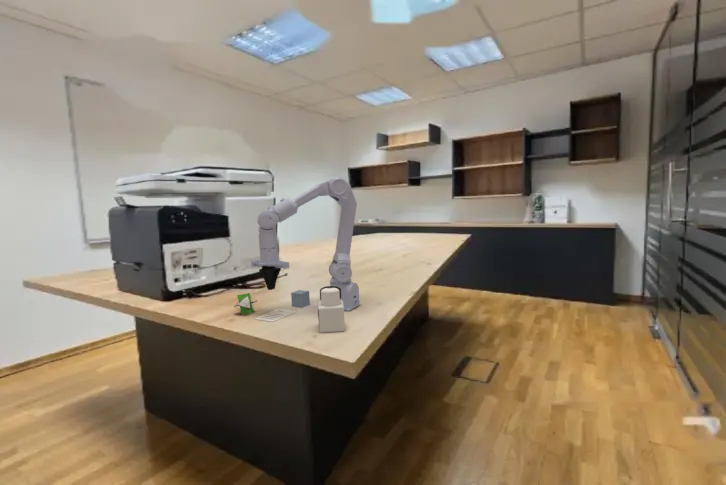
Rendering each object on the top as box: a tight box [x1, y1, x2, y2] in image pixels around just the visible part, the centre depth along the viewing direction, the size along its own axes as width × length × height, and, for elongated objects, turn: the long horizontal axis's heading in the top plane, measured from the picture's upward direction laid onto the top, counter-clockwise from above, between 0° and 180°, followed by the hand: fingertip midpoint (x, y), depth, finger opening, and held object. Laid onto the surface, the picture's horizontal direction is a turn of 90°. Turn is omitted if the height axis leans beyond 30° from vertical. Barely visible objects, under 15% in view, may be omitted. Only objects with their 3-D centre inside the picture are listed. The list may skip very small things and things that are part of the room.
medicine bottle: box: [317, 285, 346, 334], centre depth 105 cm, size 7×7×12 cm
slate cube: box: [290, 289, 311, 309], centre depth 130 cm, size 4×4×5 cm
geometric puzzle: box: [233, 292, 258, 316], centre depth 123 cm, size 7×7×8 cm
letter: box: [253, 308, 298, 323], centre depth 120 cm, size 8×12×1 cm, turn 152°
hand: (271, 289), depth 120 cm, fingers closed
